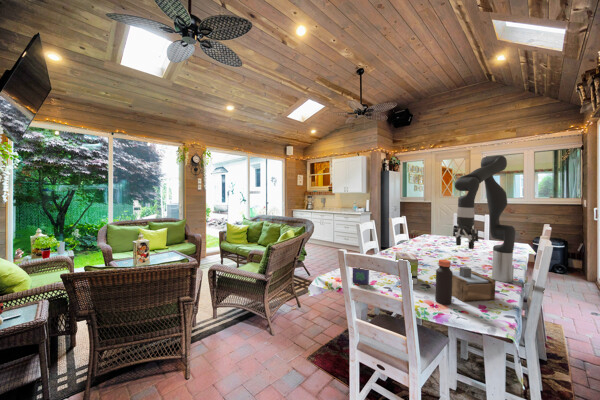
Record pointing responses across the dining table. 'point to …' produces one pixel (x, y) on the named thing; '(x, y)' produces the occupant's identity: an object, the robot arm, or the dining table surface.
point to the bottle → (444, 283)
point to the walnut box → (473, 289)
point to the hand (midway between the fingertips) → (464, 247)
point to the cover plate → (473, 278)
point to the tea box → (413, 263)
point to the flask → (360, 276)
